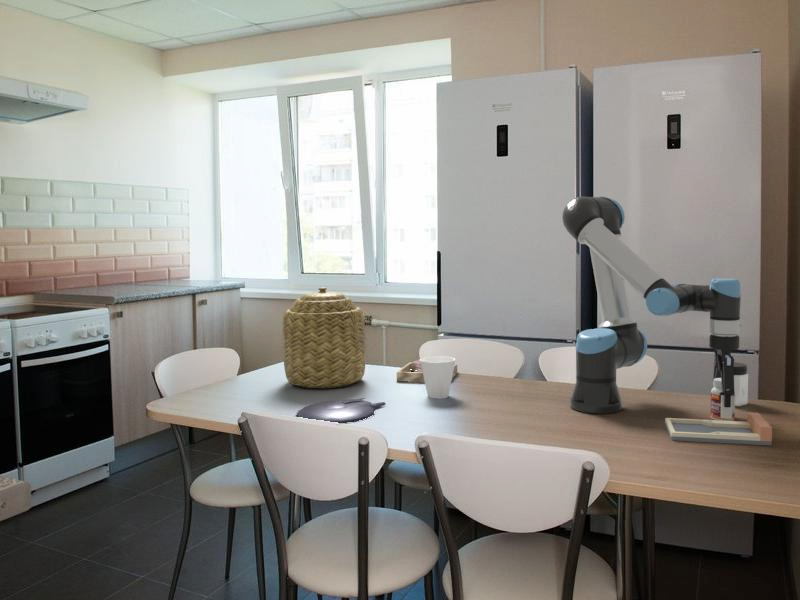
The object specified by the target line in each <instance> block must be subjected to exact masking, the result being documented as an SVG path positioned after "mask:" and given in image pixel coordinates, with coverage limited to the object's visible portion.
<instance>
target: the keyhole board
mask: <svg viewBox="0 0 800 600" xmlns="http://www.w3.org/2000/svg"><path fill="white" fill-rule="evenodd" d="M664 425H665V428H666V430H667V433H668V435H669V438H670V439H671V441H684V442H701V443H718V444H734V445H736V444H737V445H738V444H739V445H754V446H755V445H756V446H757V445H759V446H772V441H773V427H772V426H771V424H769V423H768V422H767V421H766V420H765V419H764V417H763V416H762V415H761V414H760V413H759V412H747V421H743V420H742V421H741V420H738V421H737V420H733V421H722V420H713V419H698V418H697V419H696V418H695V419H694V418H675V417H674V418H672V417H665V418H664Z"/></svg>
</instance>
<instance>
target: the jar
mask: <svg viewBox="0 0 800 600" xmlns="http://www.w3.org/2000/svg"><path fill="white" fill-rule="evenodd" d="M747 372H748V365H747V364H745V363H742V362H735V361H734V390H735V407H742V406H745V405H748V402H749V401H748V400H749V399H748V398H749V397H748V395H749V373H747Z"/></svg>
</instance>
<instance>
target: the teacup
mask: <svg viewBox="0 0 800 600" xmlns="http://www.w3.org/2000/svg"><path fill="white" fill-rule="evenodd" d="M413 363H414V364H415V365H416V368H417V372H422V367H421V363H420V359H416V360H413Z"/></svg>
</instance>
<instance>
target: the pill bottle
mask: <svg viewBox="0 0 800 600" xmlns="http://www.w3.org/2000/svg"><path fill="white" fill-rule="evenodd" d="M712 386H713V387H712V388H711V391H710V420H722V421H735V415H736V413H735V412H736V411H735V410H736V406H735V394H734V395H733V397H732V419H724V418H721V395H720V394H719V393H720V392H722V382H721V378H715V379H714V380H713V379H712ZM714 386H715V387H714ZM727 390H729V389H727ZM734 392H735V390H734Z"/></svg>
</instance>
